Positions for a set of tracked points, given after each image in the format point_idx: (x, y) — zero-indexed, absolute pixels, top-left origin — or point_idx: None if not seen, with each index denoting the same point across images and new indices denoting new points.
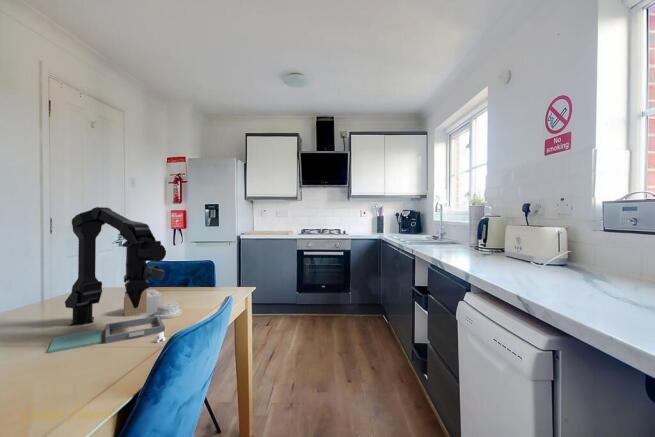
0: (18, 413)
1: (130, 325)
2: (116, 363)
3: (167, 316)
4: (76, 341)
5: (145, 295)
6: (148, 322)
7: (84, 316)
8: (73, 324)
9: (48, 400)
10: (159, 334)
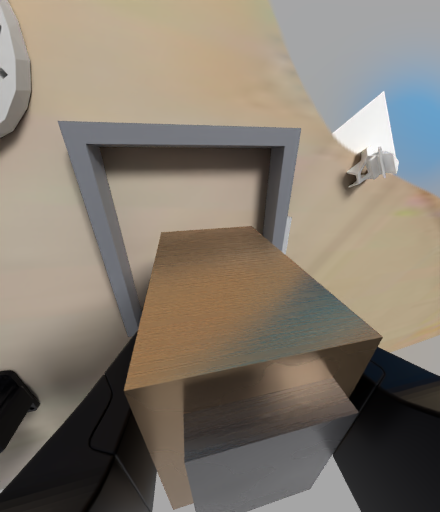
0: (424, 335)
1: (126, 258)
2: (399, 265)
3: (18, 50)
4: None
5: (329, 305)
6: (106, 187)
7: (9, 414)
8: (36, 403)
9: (425, 320)
10: (391, 169)
